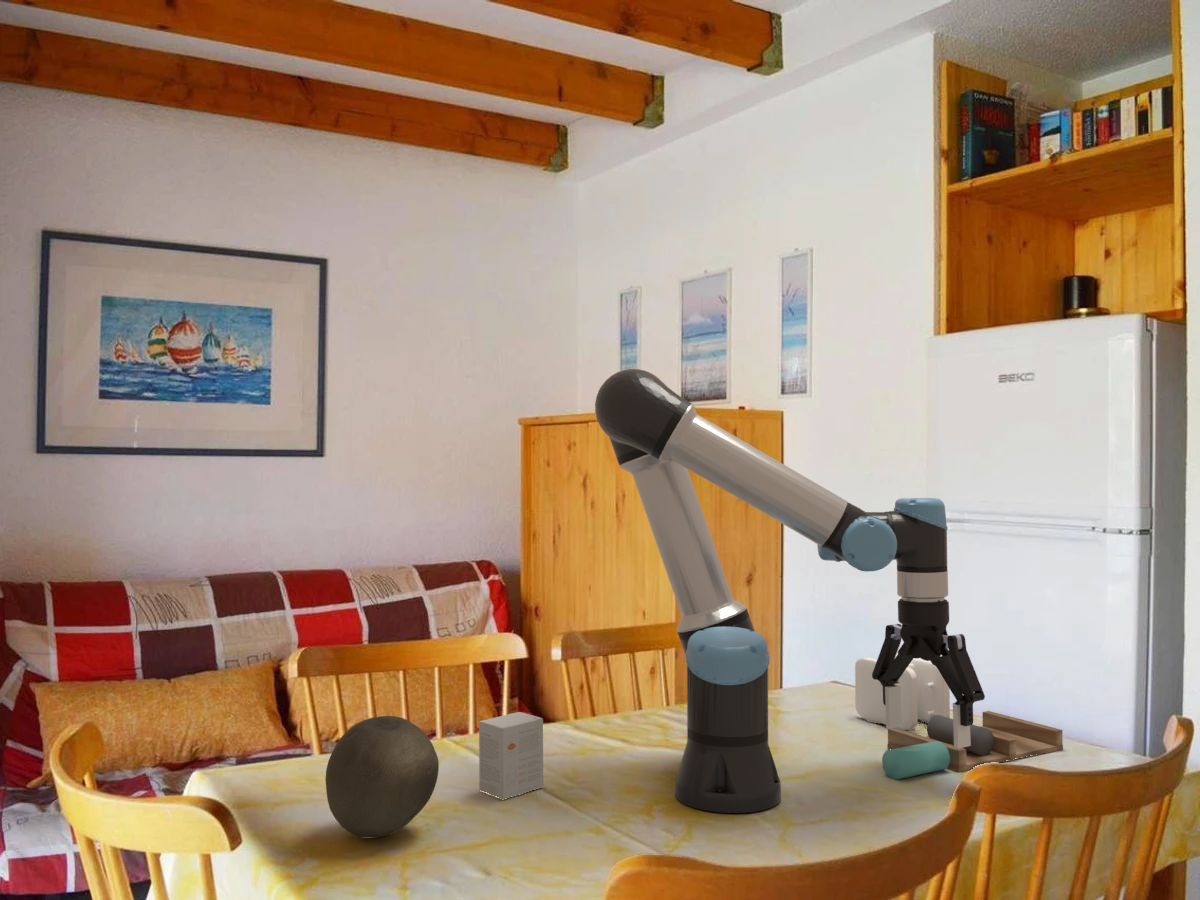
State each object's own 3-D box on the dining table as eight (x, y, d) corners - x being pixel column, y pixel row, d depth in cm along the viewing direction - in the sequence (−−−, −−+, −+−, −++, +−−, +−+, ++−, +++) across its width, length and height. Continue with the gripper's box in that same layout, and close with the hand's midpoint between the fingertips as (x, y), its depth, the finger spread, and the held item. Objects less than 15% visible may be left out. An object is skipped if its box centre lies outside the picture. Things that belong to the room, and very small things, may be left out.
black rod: (925, 740, 172) (928, 714, 172) (943, 741, 174) (946, 715, 174) (973, 755, 163) (976, 727, 163) (992, 756, 165) (995, 729, 166)
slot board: (958, 772, 158) (958, 750, 158) (887, 748, 171) (887, 728, 171) (1062, 749, 170) (1062, 729, 171) (989, 729, 184) (989, 710, 184)
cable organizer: (851, 717, 193) (850, 655, 193) (891, 710, 198) (891, 650, 198) (911, 735, 180) (910, 669, 180) (953, 728, 185) (952, 663, 185)
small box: (519, 780, 155) (519, 710, 155) (544, 788, 151) (544, 717, 151) (477, 792, 149) (477, 720, 149) (502, 801, 145) (502, 727, 145)
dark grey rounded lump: (335, 862, 123) (335, 738, 123) (318, 824, 136) (318, 711, 136) (449, 845, 128) (449, 725, 129) (422, 810, 141) (422, 701, 142)
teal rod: (908, 771, 153) (893, 744, 155) (891, 784, 156) (877, 757, 158) (954, 762, 158) (940, 736, 160) (937, 774, 161) (923, 748, 163)
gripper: (1007, 604, 148) (1011, 751, 148) (881, 588, 170) (885, 716, 169) (971, 609, 144) (975, 760, 144) (847, 592, 166) (851, 723, 166)
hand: (926, 736), depth 157 cm, fingers open, 13 cm apart
